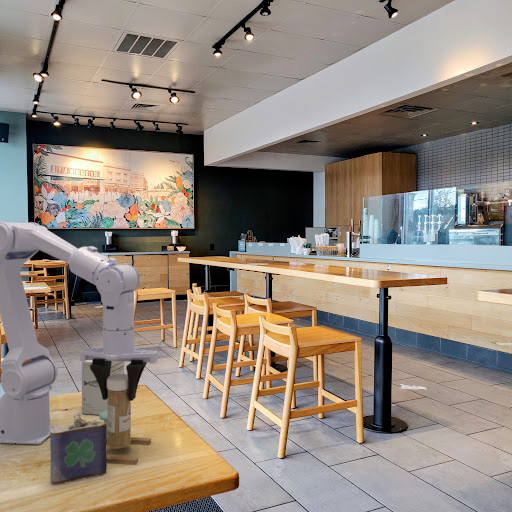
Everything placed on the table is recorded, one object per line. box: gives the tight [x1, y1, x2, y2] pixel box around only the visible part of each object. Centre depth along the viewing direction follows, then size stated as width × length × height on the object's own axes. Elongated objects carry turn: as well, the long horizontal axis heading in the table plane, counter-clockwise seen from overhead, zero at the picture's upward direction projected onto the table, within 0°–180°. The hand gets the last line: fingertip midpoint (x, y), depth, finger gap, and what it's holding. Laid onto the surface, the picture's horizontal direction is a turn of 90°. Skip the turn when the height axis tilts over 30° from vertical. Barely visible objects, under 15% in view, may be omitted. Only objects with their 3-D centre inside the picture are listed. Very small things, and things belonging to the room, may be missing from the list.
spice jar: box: [106, 373, 132, 450], centre depth 95 cm, size 5×5×13 cm
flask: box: [49, 413, 108, 485], centre depth 86 cm, size 9×3×11 cm, turn 117°
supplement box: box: [81, 360, 125, 416], centre depth 117 cm, size 7×7×13 cm
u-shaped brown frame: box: [106, 436, 152, 465], centre depth 96 cm, size 10×10×1 cm
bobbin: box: [98, 410, 108, 436], centre depth 103 cm, size 5×5×4 cm
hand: (119, 398), depth 95 cm, fingers closed on spice jar, 4 cm apart
